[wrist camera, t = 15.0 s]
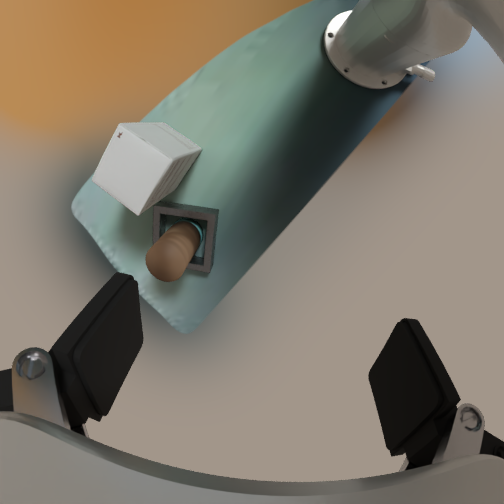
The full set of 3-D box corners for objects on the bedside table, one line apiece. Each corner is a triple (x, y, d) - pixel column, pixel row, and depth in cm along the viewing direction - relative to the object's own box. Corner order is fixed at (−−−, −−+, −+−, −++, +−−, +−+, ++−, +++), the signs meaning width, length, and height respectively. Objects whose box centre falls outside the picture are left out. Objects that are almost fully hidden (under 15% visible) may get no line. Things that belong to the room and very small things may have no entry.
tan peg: (204, 220, 40) (185, 247, 31) (202, 251, 42) (183, 285, 33) (172, 215, 40) (145, 241, 31) (171, 246, 42) (146, 277, 33)
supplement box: (137, 163, 37) (88, 180, 25) (164, 121, 34) (118, 120, 22) (175, 191, 38) (137, 218, 27) (204, 149, 35) (173, 159, 24)
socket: (219, 209, 39) (215, 214, 37) (212, 265, 43) (209, 272, 40) (160, 201, 39) (153, 205, 37) (158, 255, 43) (153, 262, 40)
